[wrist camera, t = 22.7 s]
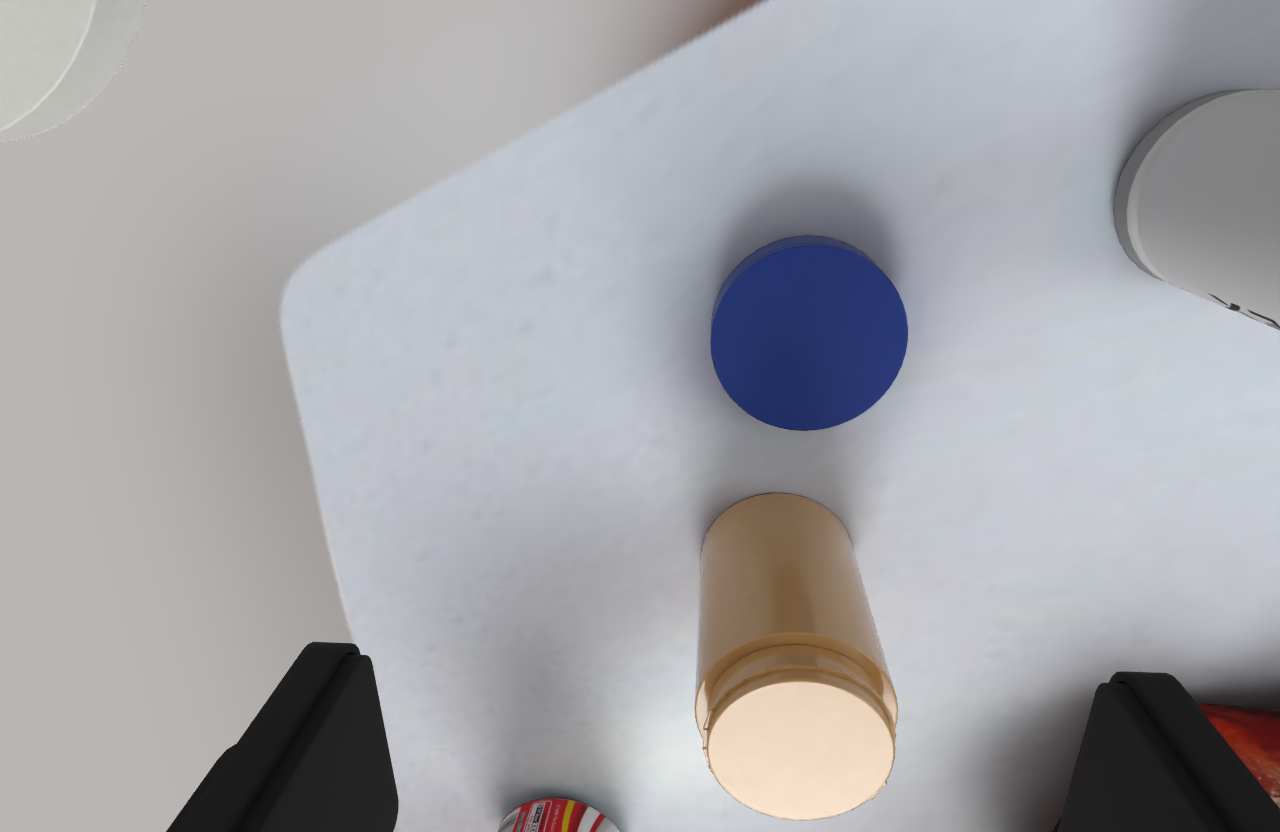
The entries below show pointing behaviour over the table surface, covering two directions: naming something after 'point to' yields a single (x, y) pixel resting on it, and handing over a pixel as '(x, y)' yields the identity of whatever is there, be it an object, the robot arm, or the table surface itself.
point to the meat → (1250, 741)
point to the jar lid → (807, 333)
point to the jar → (790, 663)
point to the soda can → (556, 818)
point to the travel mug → (1209, 201)
